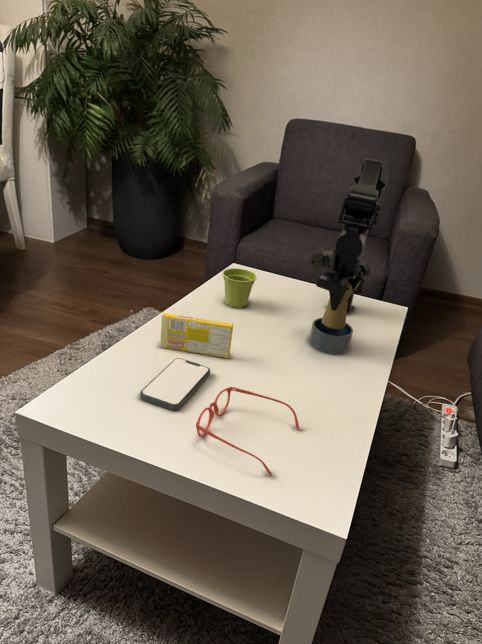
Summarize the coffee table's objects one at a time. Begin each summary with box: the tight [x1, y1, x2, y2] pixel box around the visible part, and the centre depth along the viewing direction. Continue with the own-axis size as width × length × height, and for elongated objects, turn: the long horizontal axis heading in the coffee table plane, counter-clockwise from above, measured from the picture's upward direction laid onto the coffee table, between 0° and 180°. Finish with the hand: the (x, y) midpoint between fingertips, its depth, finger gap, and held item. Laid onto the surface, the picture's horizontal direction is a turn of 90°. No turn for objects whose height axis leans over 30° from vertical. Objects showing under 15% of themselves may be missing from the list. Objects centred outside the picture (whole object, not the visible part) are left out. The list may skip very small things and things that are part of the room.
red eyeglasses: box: [195, 386, 300, 476], centre depth 99 cm, size 17×16×5 cm
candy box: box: [159, 312, 234, 359], centre depth 122 cm, size 16×2×8 cm, turn 84°
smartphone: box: [139, 357, 211, 411], centre depth 111 cm, size 9×2×16 cm
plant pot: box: [221, 267, 258, 309], centre depth 148 cm, size 9×9×9 cm
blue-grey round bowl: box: [308, 317, 354, 355], centre depth 135 cm, size 10×10×5 cm
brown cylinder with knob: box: [321, 283, 352, 329], centre depth 131 cm, size 6×6×11 cm
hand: (337, 306), depth 132 cm, fingers closed on brown cylinder with knob, 4 cm apart
